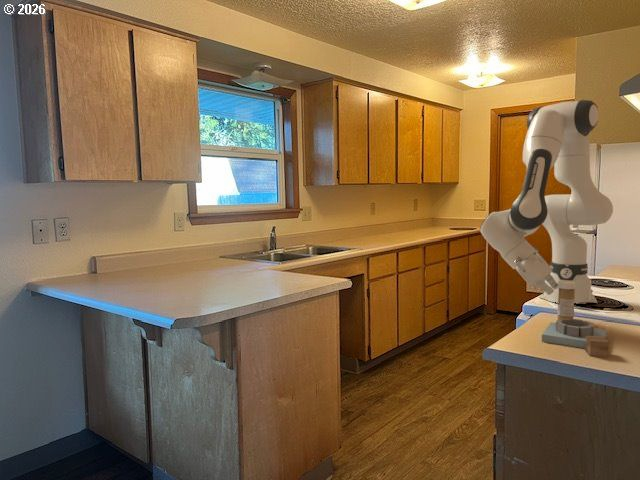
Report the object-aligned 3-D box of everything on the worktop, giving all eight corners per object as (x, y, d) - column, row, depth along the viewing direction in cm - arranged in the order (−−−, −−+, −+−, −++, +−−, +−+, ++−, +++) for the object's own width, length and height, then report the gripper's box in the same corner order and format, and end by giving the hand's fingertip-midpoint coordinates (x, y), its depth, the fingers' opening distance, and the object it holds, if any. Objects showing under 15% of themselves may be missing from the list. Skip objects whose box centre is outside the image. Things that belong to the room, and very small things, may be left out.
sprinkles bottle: (559, 322, 143) (561, 279, 142) (575, 325, 140) (577, 281, 139) (554, 325, 140) (556, 281, 139) (571, 328, 137) (573, 283, 136)
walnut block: (585, 351, 118) (585, 335, 118) (602, 352, 117) (603, 336, 117) (589, 356, 114) (590, 340, 114) (607, 357, 113) (608, 341, 113)
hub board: (550, 328, 137) (551, 313, 137) (606, 336, 129) (607, 320, 128) (541, 341, 126) (542, 325, 125) (602, 351, 118) (602, 333, 117)
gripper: (521, 253, 136) (557, 289, 131) (535, 246, 152) (568, 278, 147) (504, 267, 139) (539, 303, 134) (520, 259, 155) (552, 291, 150)
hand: (554, 290), depth 141 cm, fingers open, 8 cm apart
